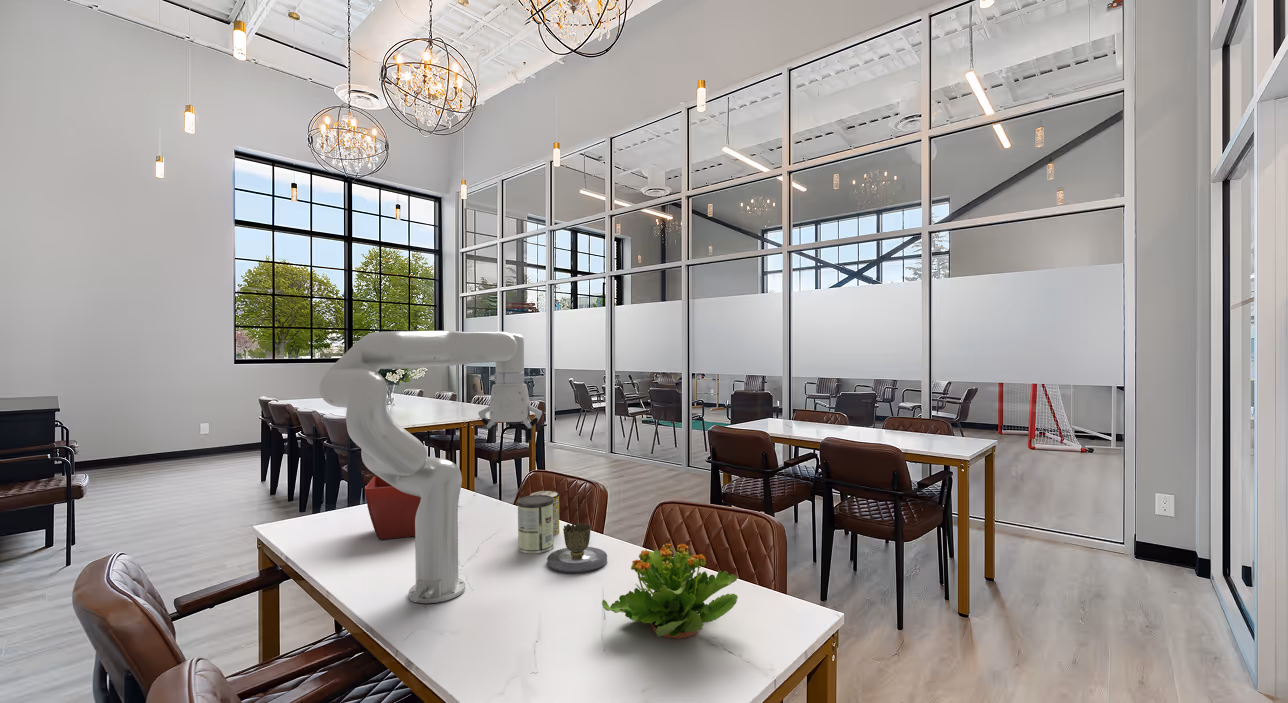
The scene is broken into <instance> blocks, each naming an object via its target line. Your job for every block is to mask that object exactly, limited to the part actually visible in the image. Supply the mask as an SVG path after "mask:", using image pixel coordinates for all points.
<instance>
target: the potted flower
mask: <svg viewBox="0 0 1288 703" xmlns="http://www.w3.org/2000/svg"><path fill="white" fill-rule="evenodd" d="M672 545H673V544H670V543H665V544H663V545H662V547H660V549H659V550H658V549H654V550H653V551H651V550H644V549H641V551H640V553H639V554H638V558H639V559H634V560H632V561H631V563H632V565H631V566H630V570H632V571H635V573H637V579H638V582H639V584H640V586H639V584H637V583H635V585H636V587H635V588H634V590H633V591H631V590H628V592H627V593H626V594H621V595H620V596H619V597H618V600H615V601H614V602H612V603H611V605H610V606H609V604H608V601H606V599H603V600H602V602H601V604H602V608H603V609H604V610H605V611H606V612H609V611H610V612H613V613H615V614H617V613H625V614H624V616H625V617H626V618H629V620H631V621H632V622H634V621H635V622H641V623H643V624H651V627H652V630H653V633H655V635H656V637H664V638H666V639H673V640H675V639H684V638H686V639H687V638H689V637H692V636H694V635H695V634H697V633H698V632H699V631H701V630H703V626H704V624H705V623H711V622H713V621H716V620H718V619H720V618H721V617H722V616H724V615H725V614H726V613H728V612H729V611H731V610H732V609H733V607H734V606H735V605H736V603H737V602H738V595H737V594H735V593H731V594H730V593H726V594H722V595H720V596H717V597H716V598H715V599H712V600H711V601H710V602H709V603H705V601H707V600H708V599H709V598H710V597H712V596H713V595H714V594H717V593H718V592H719V591H721V590H722V589H725V588H727V587H728V586H731V584H733V583H734V582H736V581H737V579H739V575H738V576H736V575H735V574H733V573H731V574H729V572H728V571H726V570H724V571H723V572H722V570H718V572H717V574H716V575H715V574H710V575H709V576H708V573H707V571H706V570H705V571H703V572H701V571H700V569H701V568H702V567H705V566H706V564H707V562H706V557H705V556H704V554H696V555H695V554H692V555H690V551H689V545H687V544H685V543H680V544H678V545H677V548H676V552H674V554H673V551H674V549H673V548H672ZM695 569H697V572H696V570H695ZM695 573H696V575H695V576H694V574H695ZM642 583H643V584H642ZM643 585H644V586H645V588H644V587H643ZM703 623H704V624H703Z"/></svg>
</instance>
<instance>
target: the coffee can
mask: <svg viewBox="0 0 1288 703" xmlns="http://www.w3.org/2000/svg"><path fill="white" fill-rule="evenodd" d="M517 528H518V529H517V533H518V538H517V539H518V547H517V550H518V551H519V552H520V553H523V554H529V555H531V554H543V553H547V552H549V551H551V550H553V549H554V546H555V543H554V537H555V536H553V497H551V496H547V495H531V496H530V495H527V496H523V497H520V498H518V499H517Z"/></svg>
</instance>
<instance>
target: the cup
mask: <svg viewBox="0 0 1288 703" xmlns="http://www.w3.org/2000/svg"><path fill="white" fill-rule="evenodd" d="M591 528H592V527H591V524H590V523H588V524H587V523H586V522H585V523H584V524H583V523H582V522H576V524H575V523H574V522H573V523H571V524H570V523H567V524H566V525H564V526H563V527H562V530H563V538H564V543H565V548H567V549H568V550H570V551H571V553H570V554H571V556H572V557H574V558H579V557H582V556H583V555H584V550H585V549H586V548H587V547H589V544H590V539H591Z"/></svg>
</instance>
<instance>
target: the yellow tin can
mask: <svg viewBox="0 0 1288 703" xmlns="http://www.w3.org/2000/svg"><path fill="white" fill-rule="evenodd" d="M531 495H547V496H551V497H553V537H555V536H557V535H558V534H560V493H559V492H557V491H554V490H542V491H541V490H540V491H536V492H532V493H530V495H529V496H531Z"/></svg>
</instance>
